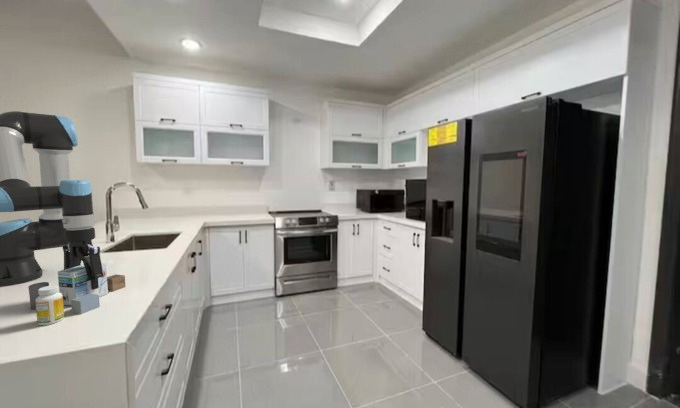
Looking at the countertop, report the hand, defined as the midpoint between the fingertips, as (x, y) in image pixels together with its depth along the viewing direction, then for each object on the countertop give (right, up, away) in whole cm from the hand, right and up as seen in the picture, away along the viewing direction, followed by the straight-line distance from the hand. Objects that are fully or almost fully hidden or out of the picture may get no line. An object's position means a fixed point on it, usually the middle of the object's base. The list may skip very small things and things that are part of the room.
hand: (85, 297), depth 97 cm
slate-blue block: (+7, -1, -8) cm, 11 cm away
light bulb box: (0, -1, 0) cm, 1 cm away
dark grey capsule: (-9, -1, -5) cm, 11 cm away
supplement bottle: (+3, -2, -15) cm, 16 cm away
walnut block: (+3, 0, +9) cm, 10 cm away
